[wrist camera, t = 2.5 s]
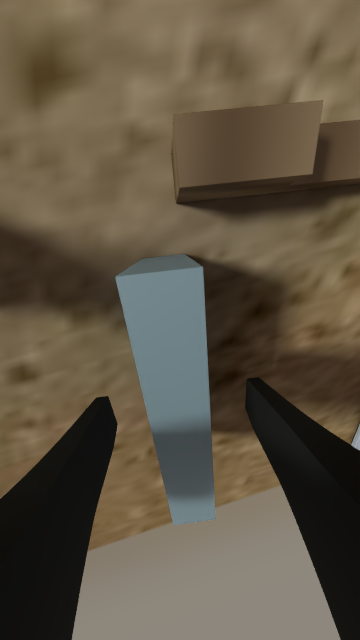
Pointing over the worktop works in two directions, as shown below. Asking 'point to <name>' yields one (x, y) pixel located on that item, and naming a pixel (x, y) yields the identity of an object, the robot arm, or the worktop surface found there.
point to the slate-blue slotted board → (173, 375)
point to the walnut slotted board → (261, 151)
